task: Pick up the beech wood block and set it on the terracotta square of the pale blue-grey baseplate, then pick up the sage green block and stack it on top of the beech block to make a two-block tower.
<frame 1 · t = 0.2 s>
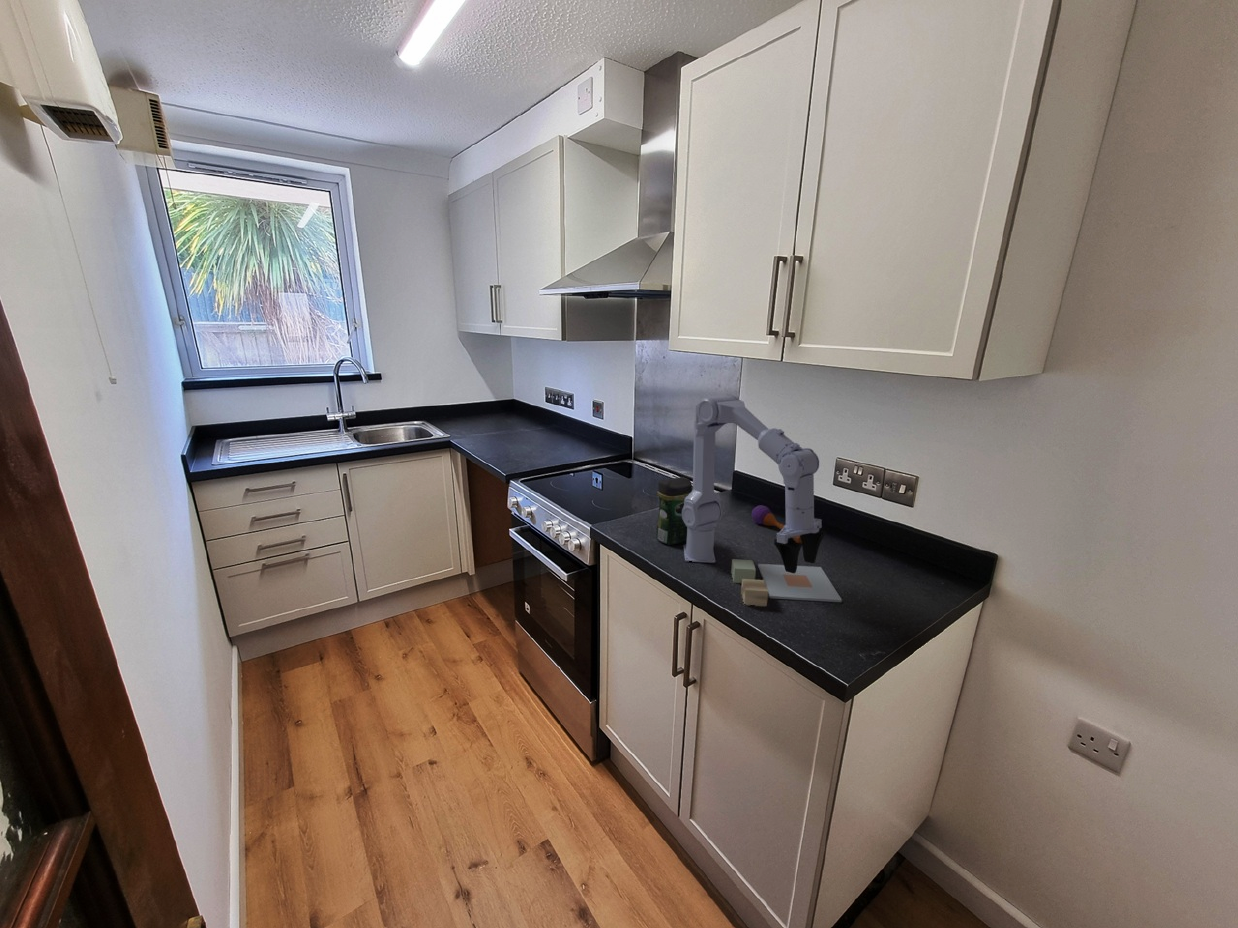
hand: (800, 566, 110), 10 cm above the table, tool pointing down, fingers open, 7 cm apart
maraca: (776, 532, 155), on the table
beech block: (753, 600, 117), on the table
baseplate: (797, 582, 124), on the table
sage block: (742, 578, 126), on the table
coffee jar: (672, 540, 148), on the table
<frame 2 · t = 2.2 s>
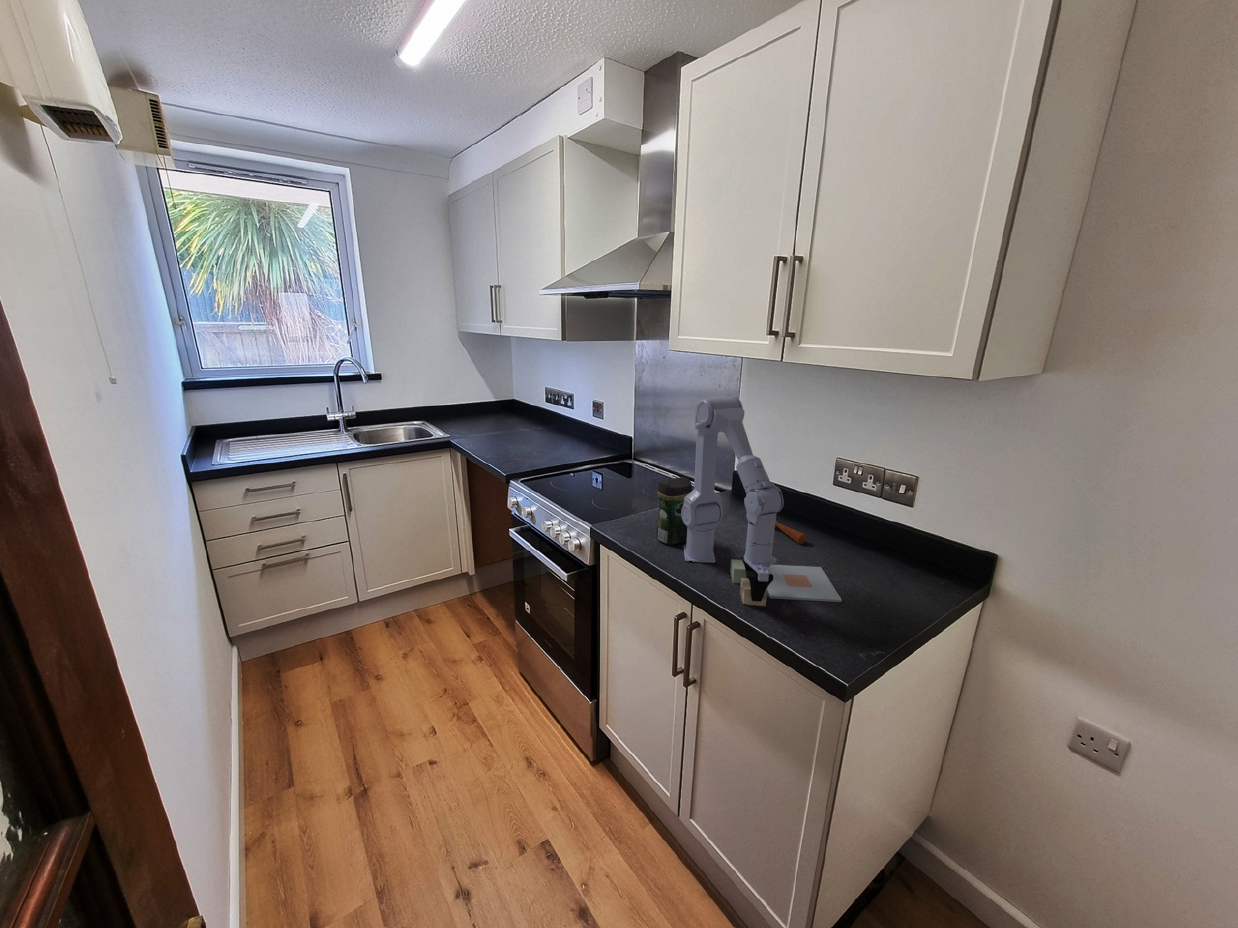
hand: (754, 594, 116), 1 cm above the table, tool pointing down, fingers closed on beech block, 5 cm apart
beech block: (752, 599, 117), on the table, touching gripper
everything else where it was.
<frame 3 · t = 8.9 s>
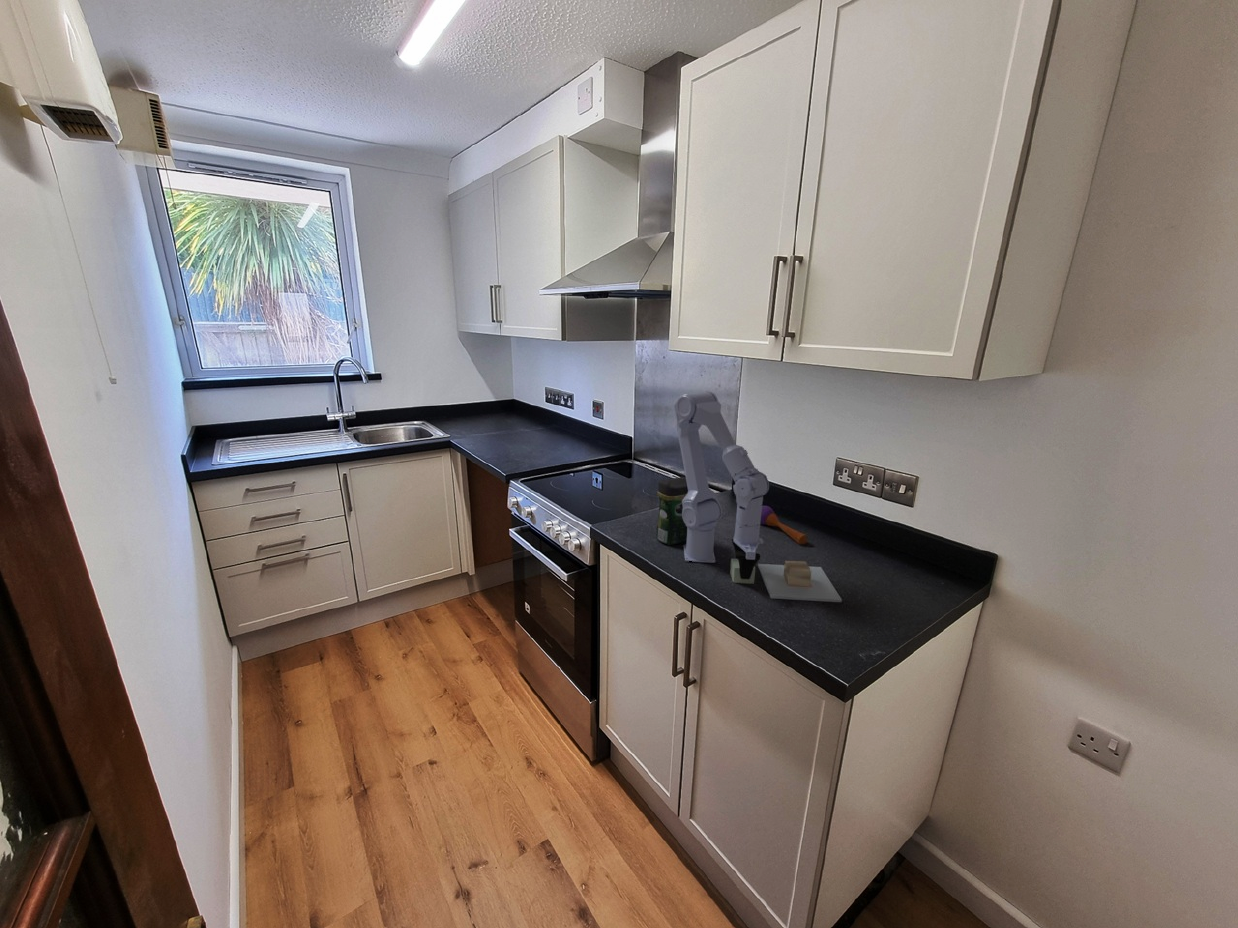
hand: (743, 572, 126), 1 cm above the table, tool pointing down, fingers closed on sage block, 5 cm apart
beech block: (796, 580, 124), point 1 cm above the table, touching baseplate
sage block: (741, 578, 126), on the table, touching gripper
when the fingers open (7 cm above the table, at t = 12.7 s): sage block drops 1 cm, resting on beech block.
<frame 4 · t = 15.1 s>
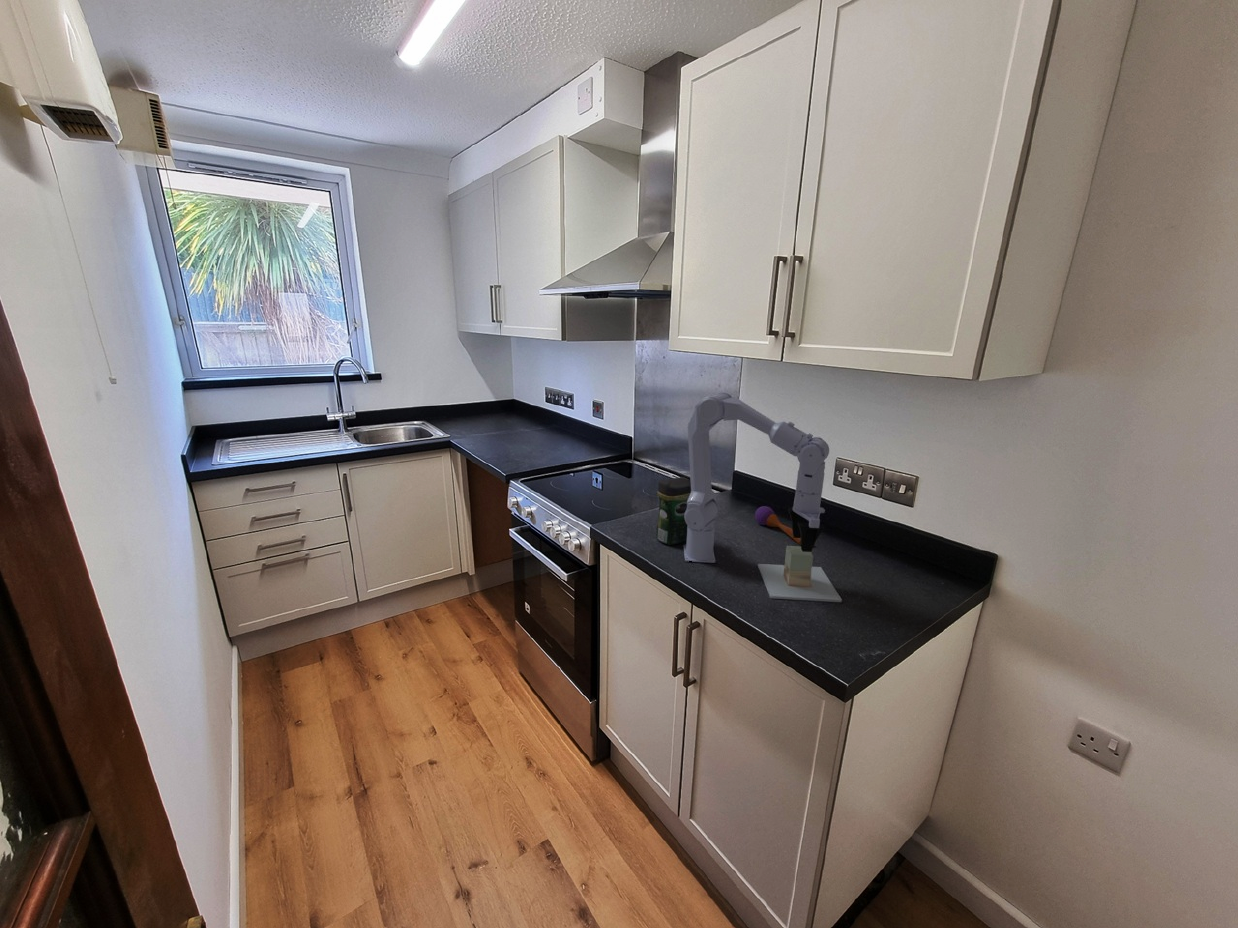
hand: (801, 544, 122), 10 cm above the table, tool pointing down, fingers open, 7 cm apart
beech block: (796, 580, 124), point 1 cm above the table, touching baseplate, sage block
sage block: (797, 565, 123), point 5 cm above the table, touching beech block
at the end: beech block 0.3 cm off-centre on the baseplate, point 0.6 cm above the baseplate's base; sage block 0.1 cm off-centre on the beech block, point 4.0 cm above the beech block's base; sage block tilted 0° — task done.
